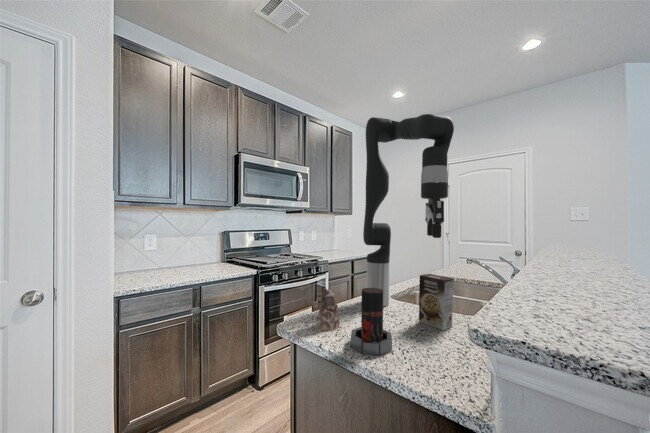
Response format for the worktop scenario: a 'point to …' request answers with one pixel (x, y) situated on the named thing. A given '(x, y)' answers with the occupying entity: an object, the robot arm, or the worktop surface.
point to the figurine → (328, 312)
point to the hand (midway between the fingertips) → (433, 236)
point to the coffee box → (436, 301)
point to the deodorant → (372, 315)
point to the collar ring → (371, 343)
